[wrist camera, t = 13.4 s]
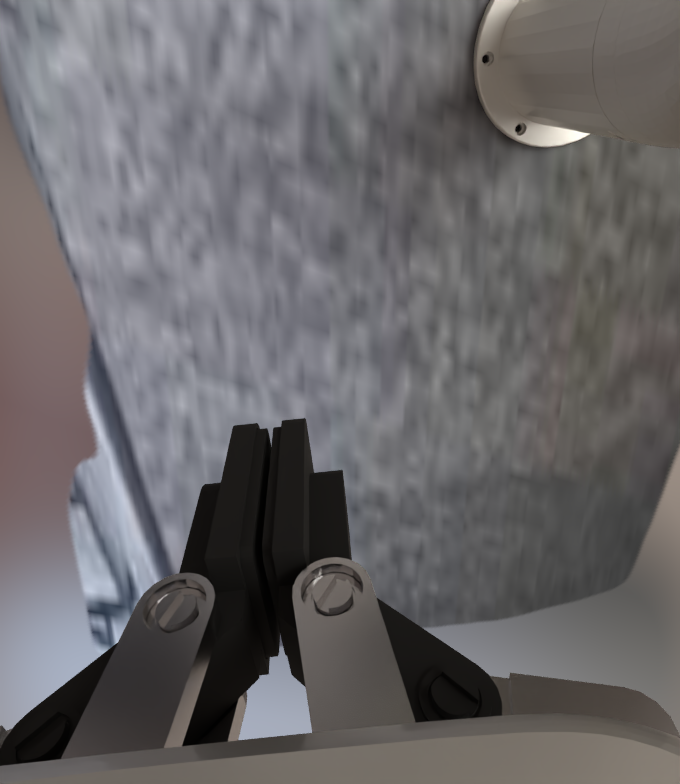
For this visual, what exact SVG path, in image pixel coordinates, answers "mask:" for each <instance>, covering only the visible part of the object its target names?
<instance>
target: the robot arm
mask: <svg viewBox="0 0 680 784" xmlns="http://www.w3.org/2000/svg"><path fill="white" fill-rule="evenodd" d="M484 55H486V56H487V58H488V60H487V62H486V63H483V62H482V58H483V56H484ZM473 67H474V78H475V86H476V89H477V93H478V97H479V100H480V103H481V105H482V107H483V109H484V111H485V113H486V115H487V116H488V117H489V119H490V120H491V121H492V123H493V124H494V125H495V126H496V128H498V129H499V130H500V131H501V132H503V133H504V134H505V135H506V136H507V137H509V138H511V139H513V140H516V141H518V142H520V143H523V144H526V145H530V146H535V147H544V148H549V147H558V146H564V145H567V144H570V143H573V142H577V141H579V140H581V139H583V138H585V137H587V136H588V135H590V134H593V135H599V136H604V137H609V138H614V139H619V140H624V141H630V142H635V143H640V144H645V145H653V146H659V147H664V148H679V149H680V0H490V2H489V4H488V5H487V8H486V10H485V13H484V15H483V18H482V20H481V23H480V25H479V30H478V34H477V38H476V43H475V49H474V63H473ZM517 125H519V126H520V129H519V131H517V132H516V131H515V128H516V126H517ZM280 634H281V639H282V643H283V647H284V651H285V654H286V655H287V657H288V661H289V665H290V669H291V673H292V675H293V676H294V677H295V678H296V679H297V680H298V681H299V682H301V683H302V684H303V685H304V686H305V687H306V692H307V700H308V706H309V712H310V720H311V726H312V733H307V734H297V735H287V736H277V737H268V738H258V739H248V740H238V738H239V734H240V730H241V726H242V722H243V717H244V713H245V709H246V703H247V692H246V691H247V690H248V689H249V688H250V687H251V685H252V684H254V683H255V682H256V681H257V680H258V678H259V675H266V674H269V659H270V657H274V656H278V653H279V642H280ZM0 784H680V735H679V732H678V730H677V729H676V727H675V725H674V723H673V721H672V719H671V717H670V716H669V715H668V714H667V713H666V711H665V710H664V709H663V708H662V707H661V706H660V705H659V704H658V703H657V702H656V701H654V700H652V699H651V698H649V697H648V696H646V695H644V694H643V693H641V692H639V691H635V690H632V689H629V688H625V687H618V686H611V685H603V684H595V683H587V682H579V681H571V680H564V679H556V678H548V677H540V676H532V675H524V674H516V673H510V676H509V678H501V677H494V676H489V675H488V674H487V673H486V672H485V671H484V670H483V669H481V668H480V667H479V666H478V665H476V664H475V663H473V662H472V661H470V660H469V659H468V658H466V657H464V656H463V655H461V654H460V653H459V652H457V651H455V650H454V649H453V648H451V647H450V646H448V645H447V644H445V643H444V642H442V641H441V640H439V639H438V638H436V637H435V636H433V635H431V634H430V633H428V632H427V631H426V630H424V629H423V628H421V627H420V626H418V625H417V624H415V623H414V622H412V621H411V620H409V619H408V618H406V617H405V616H403V615H402V614H400V613H399V612H397V611H396V610H394V609H393V608H391V607H390V606H388V605H387V604H385V603H384V602H382V601H381V600H379V599H378V598H376V595H375V592H374V589H373V585H372V582H371V579H370V577H369V576H368V574H367V572H366V570H365V569H364V568H362V567H361V566H360V565H359V564H358V563H356V562H354V561H352V558H351V547H350V536H349V525H348V515H347V506H346V496H345V487H344V479H343V471H342V470H338V471H329V472H319V473H314V470H313V463H312V456H311V450H310V443H309V436H308V430H307V423H306V419H305V418H303V419H293V420H284V421H282V426H281V427H275V428H274V429H273V438H272V448H271V443H270V438H269V433H268V430H267V428H266V429H260V428H259V425H258V424H257V423H255V424H245V425H236V426H233V429H232V434H231V439H230V443H229V448H228V452H227V457H226V462H225V466H224V471H223V476H222V480H221V483H214V484H205V485H204V486H203V487H202V489H201V492H200V496H199V499H198V503H197V507H196V511H195V515H194V519H193V522H192V526H191V530H190V534H189V538H188V542H187V545H186V549H185V553H184V557H183V561H182V565H181V568H180V572H179V574H175V575H172V576H169V577H166V578H164V579H162V580H161V581H159V582H157V583H156V584H154V585H153V586H152V587H151V588H149V589H148V590H147V591H146V592H145V593H144V594H143V596H142V597H141V599H140V600H139V602H138V603H137V605H136V607H135V609H134V611H133V613H132V615H131V617H130V619H129V621H128V623H127V625H126V627H125V629H124V631H123V634H122V636H121V638H120V640H119V642H118V643H117V644H115V645H114V646H113V647H112V648H110V649H109V650H108V651H106V652H105V653H104V654H103V655H101V656H100V657H99V658H97V660H95V661H94V662H92V663H91V664H90V665H89V666H88V667H86V668H85V669H84V670H82V671H81V672H80V673H79V674H77V675H76V676H75V677H73V678H72V679H71V680H69V681H68V682H67V683H66V684H65V685H63V686H62V687H60V688H59V689H58V690H57V691H55V692H54V693H53V694H51V695H50V696H49V697H48V698H46V699H45V700H44V701H43V702H41V703H40V704H39V705H37V706H36V707H35V708H34V709H32V710H31V711H30V712H29V713H28V714H26V715H25V716H24V717H23V718H22V719H21V720H20V721H19V722H18V723H17V724H16V725H15V726H14V727H13V729H10V730H7V731H6V730H5V729H4V728H3V726H0Z"/></svg>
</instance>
